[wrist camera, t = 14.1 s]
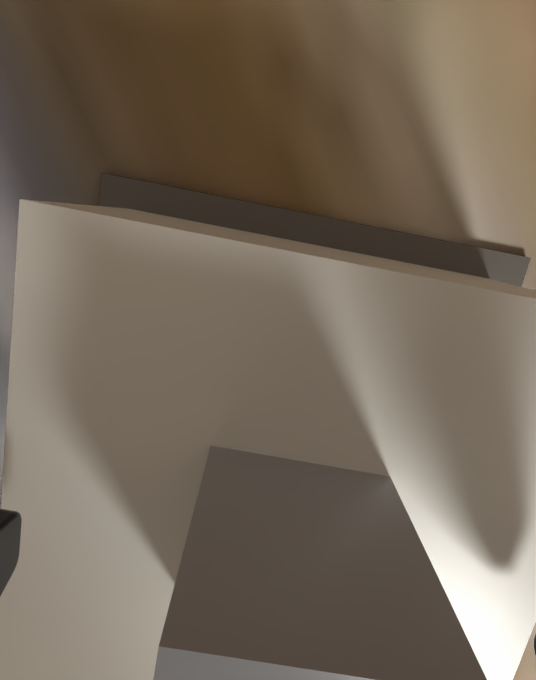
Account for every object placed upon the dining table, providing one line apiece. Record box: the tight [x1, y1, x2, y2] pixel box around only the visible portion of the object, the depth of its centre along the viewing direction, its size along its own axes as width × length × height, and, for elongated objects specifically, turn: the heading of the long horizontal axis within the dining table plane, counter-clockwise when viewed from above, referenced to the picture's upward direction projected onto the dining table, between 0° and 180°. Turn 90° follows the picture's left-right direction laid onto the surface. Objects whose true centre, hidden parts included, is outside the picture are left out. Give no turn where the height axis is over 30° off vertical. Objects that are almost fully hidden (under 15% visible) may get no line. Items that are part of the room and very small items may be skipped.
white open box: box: [0, 199, 536, 680], centre depth 10 cm, size 10×10×10 cm
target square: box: [98, 173, 530, 287], centre depth 15 cm, size 12×12×1 cm
